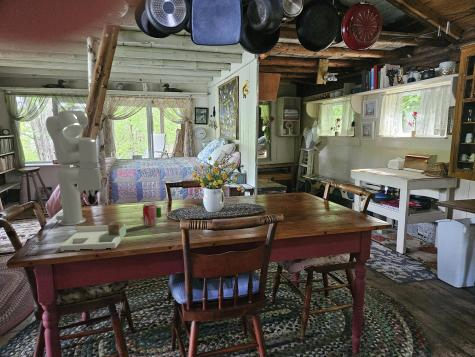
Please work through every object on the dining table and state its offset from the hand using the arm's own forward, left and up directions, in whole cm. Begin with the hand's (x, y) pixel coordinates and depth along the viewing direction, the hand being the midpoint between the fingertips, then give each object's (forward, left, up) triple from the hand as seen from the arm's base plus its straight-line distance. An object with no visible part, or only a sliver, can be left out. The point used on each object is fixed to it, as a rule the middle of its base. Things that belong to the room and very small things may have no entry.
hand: (92, 203), depth 145 cm
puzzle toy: (+23, +34, -18) cm, 45 cm away
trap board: (+2, -5, -17) cm, 18 cm away
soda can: (+23, +17, -18) cm, 34 cm away
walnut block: (+10, -1, -15) cm, 18 cm away
